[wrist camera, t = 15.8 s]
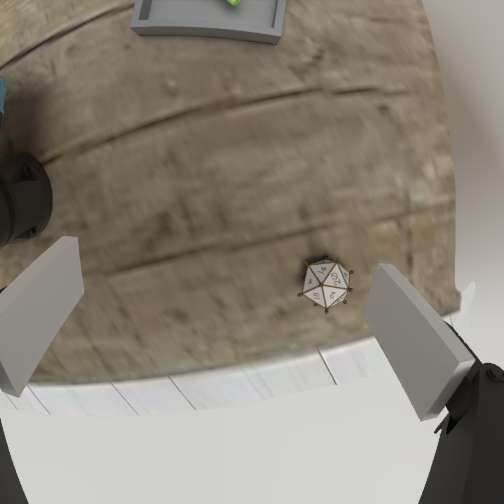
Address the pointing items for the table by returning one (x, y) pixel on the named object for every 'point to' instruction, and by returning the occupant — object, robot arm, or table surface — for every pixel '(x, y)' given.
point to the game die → (326, 283)
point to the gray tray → (210, 19)
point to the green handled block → (233, 2)
